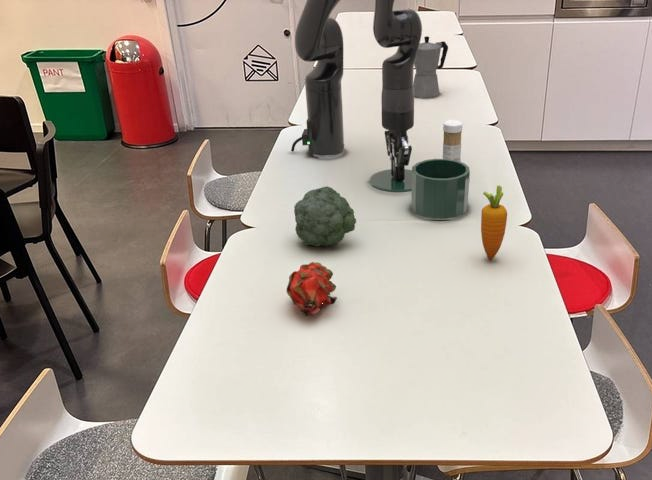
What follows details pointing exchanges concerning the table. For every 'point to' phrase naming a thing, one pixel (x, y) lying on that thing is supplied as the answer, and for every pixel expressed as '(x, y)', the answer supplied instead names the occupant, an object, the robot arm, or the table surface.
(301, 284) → the dragon fruit
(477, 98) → the table surface
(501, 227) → the carrot
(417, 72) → the coffeepot
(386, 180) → the lid
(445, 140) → the sprinkles bottle
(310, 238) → the vegetable
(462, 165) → the pot
